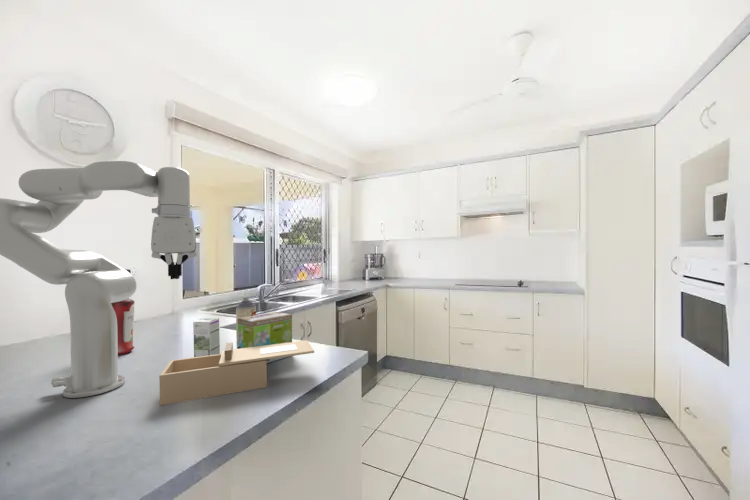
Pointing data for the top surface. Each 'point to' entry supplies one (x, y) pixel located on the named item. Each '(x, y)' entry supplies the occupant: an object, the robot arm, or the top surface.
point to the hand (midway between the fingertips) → (175, 278)
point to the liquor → (124, 325)
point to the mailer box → (208, 378)
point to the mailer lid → (263, 352)
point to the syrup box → (206, 337)
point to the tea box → (264, 330)
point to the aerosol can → (244, 310)
